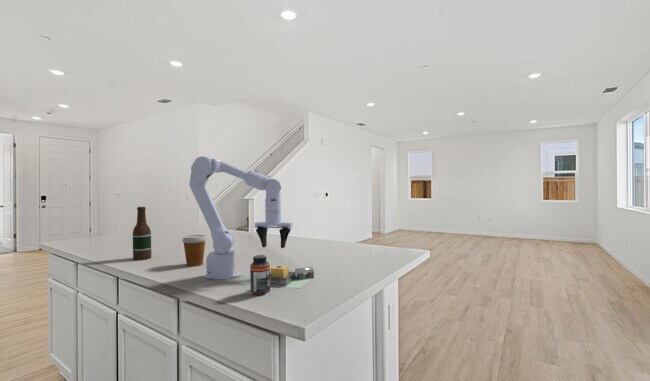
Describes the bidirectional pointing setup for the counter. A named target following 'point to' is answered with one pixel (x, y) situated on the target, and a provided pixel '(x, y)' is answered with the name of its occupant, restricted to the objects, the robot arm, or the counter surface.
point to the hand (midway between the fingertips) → (273, 247)
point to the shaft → (304, 273)
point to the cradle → (283, 279)
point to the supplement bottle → (260, 275)
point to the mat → (293, 284)
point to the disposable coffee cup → (194, 249)
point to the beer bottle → (141, 237)
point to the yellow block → (279, 271)
